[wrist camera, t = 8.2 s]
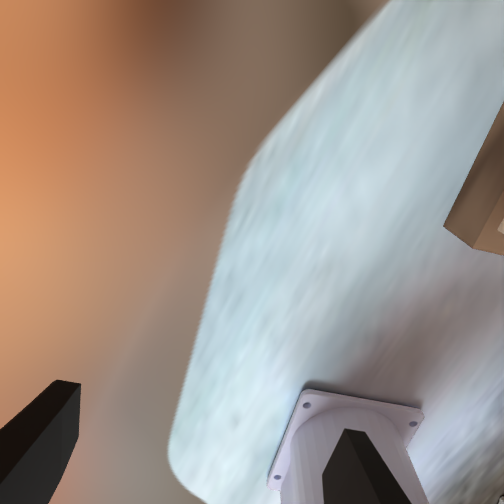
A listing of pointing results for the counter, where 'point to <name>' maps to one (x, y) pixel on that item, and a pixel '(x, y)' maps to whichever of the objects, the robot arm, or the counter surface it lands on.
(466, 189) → the walnut base slab
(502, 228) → the cream middle slab
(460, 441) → the counter surface
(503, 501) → the skincare box
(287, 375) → the counter surface
